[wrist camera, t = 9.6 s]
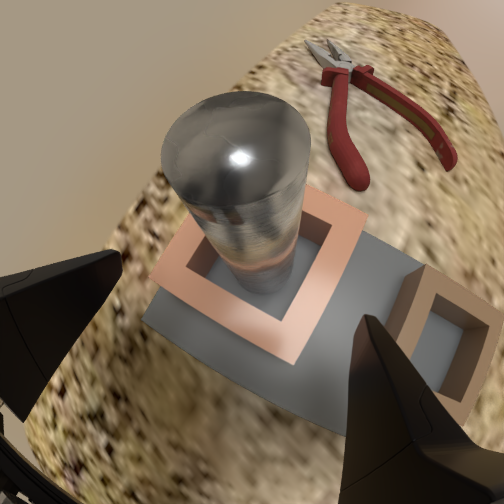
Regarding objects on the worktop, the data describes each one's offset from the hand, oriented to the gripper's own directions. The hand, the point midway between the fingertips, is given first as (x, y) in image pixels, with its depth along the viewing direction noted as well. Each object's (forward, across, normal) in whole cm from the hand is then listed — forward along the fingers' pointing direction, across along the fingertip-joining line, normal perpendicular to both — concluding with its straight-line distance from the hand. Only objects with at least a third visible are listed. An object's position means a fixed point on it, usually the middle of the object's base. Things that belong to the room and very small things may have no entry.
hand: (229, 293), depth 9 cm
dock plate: (+6, -6, +6) cm, 10 cm away
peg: (+7, 0, +3) cm, 8 cm away
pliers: (+21, -6, -8) cm, 24 cm away
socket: (+7, 0, +3) cm, 8 cm away
